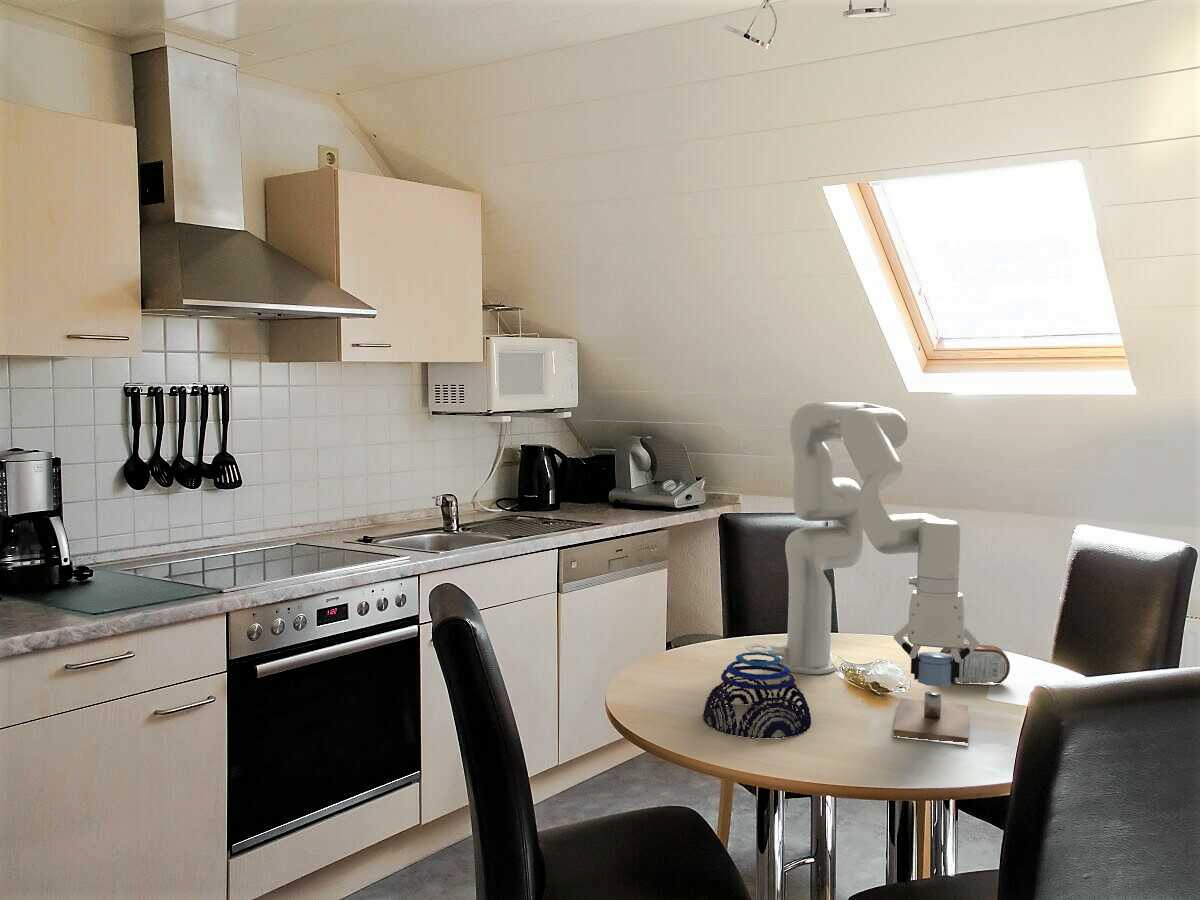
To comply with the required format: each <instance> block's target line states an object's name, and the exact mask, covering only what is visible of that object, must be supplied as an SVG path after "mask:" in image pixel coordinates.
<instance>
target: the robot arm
mask: <svg viewBox="0 0 1200 900" xmlns="http://www.w3.org/2000/svg"><path fill="white" fill-rule="evenodd" d="M789 436H790V437H789V438H790V443H791V448H792V453H793V488H792V489H793V493H792V494H793V495H792V497H793V499H792V500H793V511H794V514H795V515H796V517H797V518H798V519H800V520H801V521H806V522H827V521H831V522H832V524H833V525H832V526H831V525H830V526H829V525H828V526H827V525H826V526H808V527H801V528H799V529H795V530H794V531H792V532H791V533H790V534H789V535H788V536H787V538H786V540H785V546H784V548H785V558H786V564H787V572H788V608H787V610H788V611H787V613H788V615H787V641H786V642H787V643H786V645H785V644H782V646H778V645H773V644H768V645H767V646H770V647H772V651H769V652H767V653H768V654H773V655H775V656H778V657H780V659H781V662H780V664H782V665H785V666H786V667H787V668H788V669H789V670H790V672H792V673H796V674H803V675H824V674H829V673H830V674H831V673H833V672H835V671H836V670H837V669H836V668H835V667H834V666H833V665H832V663H831V660H830V659H831V637H832V636H831V633H832V632H831V631H832V605H833V604H832V602H833V600H832V599H833V593H832V592H833V591H832V587H831V583H830V581H829V580H828V578H827V577H826V575H825V573H824V571H826V570H831V569H833V570H834V569H843V568H850V567H851V568H852V567H853V566H855V565H856V564H858V562H859V561H860V560H861V557H862V553H863V546H864V542H863V541H864V533H865V535H866V536H867V537H866V538H867V539H868V541H869V542H870V544H871V545H872V546H873V548H875V550H876V551H878V552H879V553H881V554H885V555H896V554H897V555H899V554H915V553H916V554H917V562H916V563H917V564H916V565H917V571H916V575H915V576H914V577H909V578H908V585H909V586H911V585H912V586H913V587H914V586H915V588H916V589H914V590H913V591H912V593H911V597H910V602H909V607H908V608H909V610H908V622H907V623H906V624H904V625H903V626H902V628H900V629H899V630H898V631H897V632H895V633H894V635H893V640H894V641H896V643H897V644H898V645H899V646H900V647H901V648H902V649H903V650H904V651H905V653H906V654H907V655H908V656H909V658H910V674H912V675H913V677H914V678H913V679H914V681H915V680H916V681H918V669H919V651H920V649H921V647H930V648H940V649H943V648H950V649H951V652H952V654H953V659H952V667H951V682H952V683H951V684H954V683H955V678H959V663H960V662H961V660H962V659H963V658H965V657H966V656H967V655H968V654H969V653H970V652H971V651H973V650H974V649H975V648H977V647H978V646H979V645H980V642H979V640H978V639H977V638H976V637H975V636H974V635H973V634H972V632H970V630H968V628H967V627H965V626H966V625H965V623H966V622H965V620H966V619H965V614H966V613H965V605H964V604H965V603H964V597H963V593H961V592H959V579H960V559H961V558H960V554H961V553H960V552H961V550H960V548H961V527H960V525H959V523H958V522H957V521H955V520H952V519H951V520H950V519H944V518H941V519H940V518H939V517H936V516H935V515H932V514H928V513H902V514H901V513H900V514H889V513H888V512H887V509H886V508H885V506H884V504H883V502H882V499H881V495H880V491H881V490H884V489H885V488H887V487H889V486H890V485H892V484H894V483H895V482H896V481H897V480H898V479H899V478H900V477H901V475H902V473H903V471H904V469H903V467H904V466H903V463H902V461H901V459H900V458H899V455H898V454H897V452H896V450H895V449H898V448H900V447H901V446H903V445H904V444H905V443H906V441H907V439H908V436H909V427H908V423H907V421H906V419H905V418H904V416H903V415H902V413H900V412H899V411H898V410H896V409H893V408H890V407H886V406H881V405H876V404H872V403H868V402H858V401H857V402H855V401H854V402H853V401H852V402H848V401H847V402H839V401H835V402H834V401H830V402H829V401H825V402H824V401H822V402H821V401H820V402H811V403H807V404H804V405H802V406H800V407H799V408H797V409H796V410H795V412H794V414H793V415H792V418H791V420H790V426H789ZM825 442H843V444H844V446H845V448H846V450H847V452H848V455H849V456H850V459H851V460H852V463H853V464H854V467H855V469H856V470H857V473H858V475H859V476H860V479H861V481H862V483H861V487H860V486H859V484H858V483H857V482H856V481H855V480H853V479H851V478H848V477H834V473H833V472H834V471H833V470H834V469H833V468H834V461H833V460H834V459H833V456H832V453H831V451H830V450H829V448H828V446H827V445H826V444H825ZM906 635H907V640H906V639H905V638H904V637H905V636H906ZM965 639H966V640H967V642H968V643H967V644H968V645H967V646H965V647H964V648H963V649H961V650H960V651H959V648H960V647H962V646H963V644H965ZM834 663H836V664H837V665H838V663H837V662H836V661H835V660H834Z"/></svg>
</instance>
